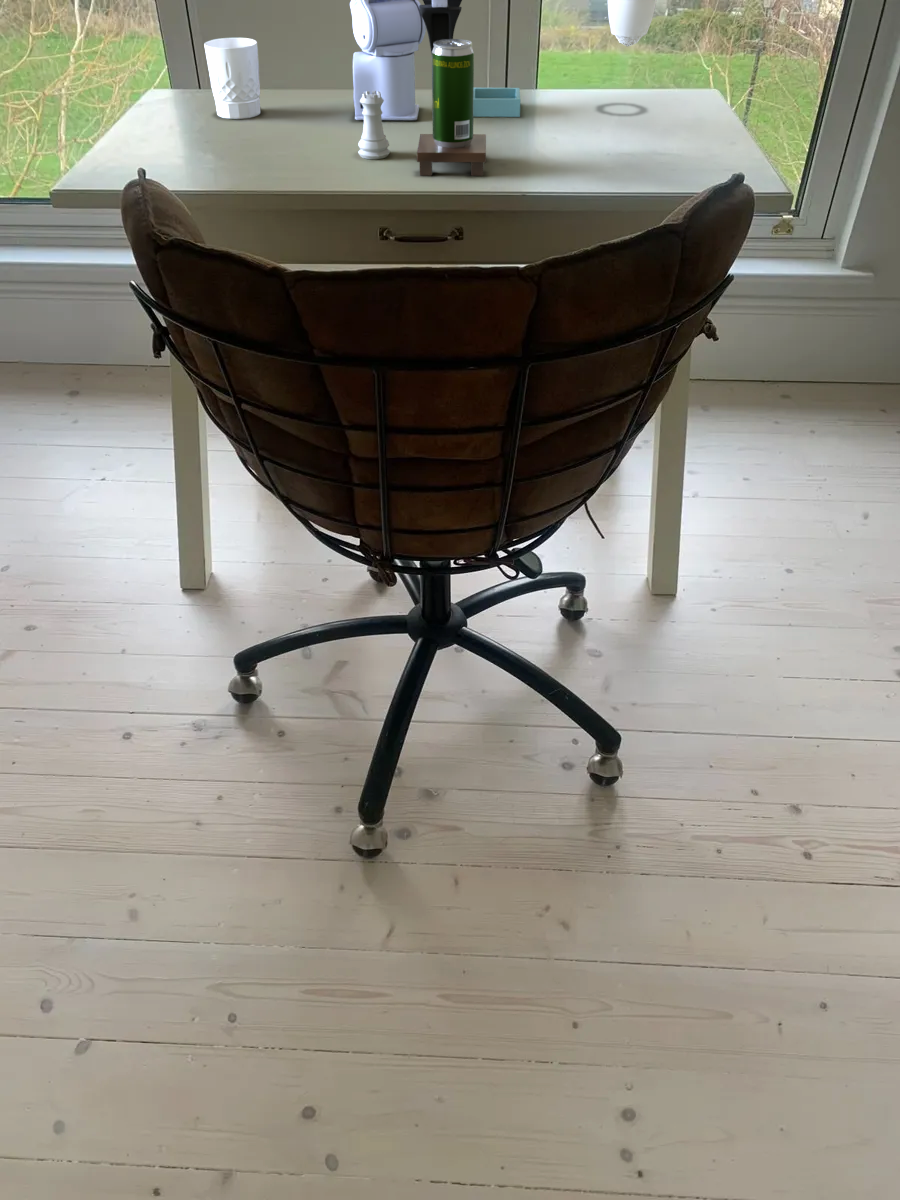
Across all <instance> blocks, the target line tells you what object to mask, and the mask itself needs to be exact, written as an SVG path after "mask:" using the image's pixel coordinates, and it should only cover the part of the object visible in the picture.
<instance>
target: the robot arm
mask: <svg viewBox="0 0 900 1200" xmlns="http://www.w3.org/2000/svg"><path fill="white" fill-rule="evenodd" d="M422 2H423V4H422V3H421V2H420V1H419V0H350V2H349V8H350V13H351V19H352V21H351V22H352V31H353V36H354V39H355V41H356V44H357V45H358V46H359V48H360V49H361V51H355V52H354V53H353V54H352V55H353V56H352V81H353V82H352V83H353V105H354V120H356V121H364V115H363V114H362V112H363V110H364V108H363V105H362V104H361V102H360V100H361V98H362V93H363V92H365V94H366V91H369V92H370V94H372V91H376V95H377V92H380V93H381V97H382V99H383V100H384V102H383V103H382V105H381V111H382V112H383V113H382V115H381V120H382V121H417V120H418V116H419V110H420V104H416V70H415V66H416V63H415V52H418V51H419V50H420V49H419V45H420V44H421V43H422V42H424V38H425V36H426V34H427V37H428V43H429V48H430V54H431V55H432V50H433V48H434V45H433V43H434V42H435V41H438V40H444V39H454V33H455V28H456V25H457V22H458V19H459V16H460V15H461V12H462V6H461V4H462V2H463V0H422ZM426 32H427V33H426Z"/></svg>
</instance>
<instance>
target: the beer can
mask: <svg viewBox="0 0 900 1200" xmlns="http://www.w3.org/2000/svg"><path fill="white" fill-rule="evenodd" d="M433 45H434V48H433V50H432V54H431V102H432V105H431V107H432V108H431V109H432V112H431V113H432V114H431V115H432V134H433V139H434V142H435V144H436V145H438V146H441V147H446V148H460V147H465V146H468V145H470V143H471V141H472V139H473V134H474V117H473V99H474V88H475V87H474V86H475V85H474V83H475V79H474V78H475V50H474V48H473V42H472V41H471V40H468V39H463V38H453V39H444V40H438V41H435V42H434V43H433Z"/></svg>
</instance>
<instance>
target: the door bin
mask: <svg viewBox="0 0 900 1200" xmlns="http://www.w3.org/2000/svg"><path fill="white" fill-rule="evenodd" d="M475 117H477V118H480V117H485V118H486V117H487V118H490V117H491V118H498V117H499V118H500V117H501V118H503V117H504V118H521V90H520V87H474V99H473V118H475Z"/></svg>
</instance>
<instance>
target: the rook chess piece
mask: <svg viewBox="0 0 900 1200" xmlns="http://www.w3.org/2000/svg"><path fill="white" fill-rule="evenodd" d="M360 102H361V104H362V105H363V108H364V110H363V112H362V114H363V115H364V120H363V126H362V127H363V128H362V134H361V136H360V140H359V141H358V142H357V143H358V145H357V146H358V148H359V150H358V151H357V153H358V155H359V157H360V158H363V159H365V160H366V159H367V160H380V159H384V158H385V159H386V158H387V157H388V156H389V154H390V153H391V151H390V149H389V146H390V143H389V142H390V141H389V140H388V139H387V136H386V134H385V132H384V128H383V120H381V115H382V113H383V112H382V111H381V105H382V103H383V102H384V100H383V99H382V97H381V93H380V92H377V95H376V91H372V94H370V92H369V91H366V94H365V92H363V93H362V98H361V100H360Z"/></svg>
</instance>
